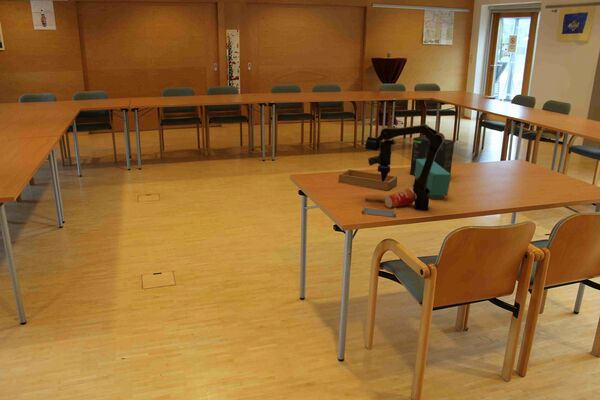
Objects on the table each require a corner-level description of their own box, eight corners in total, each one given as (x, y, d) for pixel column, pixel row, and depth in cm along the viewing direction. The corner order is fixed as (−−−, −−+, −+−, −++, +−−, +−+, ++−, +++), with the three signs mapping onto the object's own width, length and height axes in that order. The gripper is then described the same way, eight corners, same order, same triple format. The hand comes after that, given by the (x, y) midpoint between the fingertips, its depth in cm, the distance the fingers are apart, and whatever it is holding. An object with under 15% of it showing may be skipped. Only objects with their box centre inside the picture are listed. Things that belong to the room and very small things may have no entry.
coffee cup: (383, 191, 264) (406, 185, 271) (383, 206, 268) (405, 200, 275) (394, 197, 258) (417, 191, 264) (393, 212, 261) (416, 205, 268)
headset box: (408, 174, 328) (413, 134, 320) (418, 171, 337) (422, 132, 329) (441, 182, 314) (447, 140, 306) (450, 178, 323) (455, 137, 315)
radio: (449, 200, 279) (453, 174, 274) (430, 200, 278) (433, 173, 274) (430, 183, 311) (433, 158, 307) (413, 182, 310) (415, 158, 306)
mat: (395, 211, 259) (396, 208, 258) (395, 217, 250) (396, 213, 250) (363, 208, 261) (363, 204, 261) (361, 214, 253) (361, 210, 252)
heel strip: (395, 203, 271) (396, 200, 270) (395, 204, 269) (396, 201, 269) (365, 200, 273) (365, 197, 273) (365, 201, 272) (365, 198, 272)
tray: (338, 182, 305) (339, 173, 304) (348, 177, 318) (349, 168, 316) (387, 192, 292) (388, 182, 290) (396, 185, 304) (397, 176, 303)
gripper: (370, 147, 275) (368, 175, 280) (368, 154, 257) (366, 184, 262) (391, 148, 273) (389, 177, 278) (391, 156, 255) (388, 186, 260)
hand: (382, 181), depth 270 cm, fingers closed
